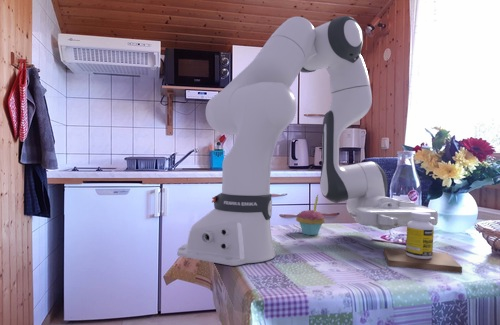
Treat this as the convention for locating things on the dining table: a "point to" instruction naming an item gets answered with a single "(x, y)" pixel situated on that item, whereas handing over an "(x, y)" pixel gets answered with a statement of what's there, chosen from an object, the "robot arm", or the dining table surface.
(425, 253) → the supplement bottle
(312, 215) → the cupcake
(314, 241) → the dining table surface
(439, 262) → the serving board
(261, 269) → the dining table surface
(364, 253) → the dining table surface
